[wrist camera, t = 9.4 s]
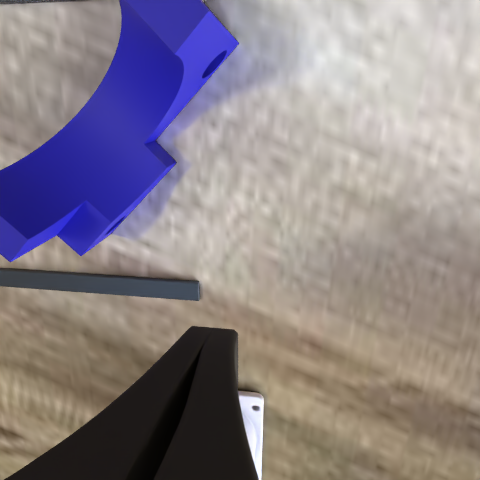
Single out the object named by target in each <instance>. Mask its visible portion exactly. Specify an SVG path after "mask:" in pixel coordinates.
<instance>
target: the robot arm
mask: <svg viewBox="0 0 480 480" xmlns="http://www.w3.org/2000/svg"><path fill="white" fill-rule="evenodd" d="M263 403H264V399H263V396H262V395H261V394H259V393H255V392H246V391H238V333H237V332H236V331H235V330H232V329H221V328H209V327H197V326H192V327H190V328H189V329H188V330H187V331H186V332H185V333H184V334H183V335H182V336H181V337H180V338H179V339H178V341H177V342H176V343H175V344H174V345H173V346H172V347H171V348H170V349H169V350H168V351H167V352H166V353H165V354H164V355H163V356H162V357H161V358H160V359H159V360H158V361H157V362H156V363H155V364H154V365H153V366H152V367H151V368H150V369H149V370H148V371H147V372H146V373H145V374H144V375H143V376H141V377H140V378H139V379H138V380H137V381H136V382H135V383H134V384H133V385H132V386H130V387H129V388H128V389H127V390H126V391H125V392H124V393H123V394H121V395H120V396H119V397H118V398H117V399H116V400H115V401H113V402H112V403H111V404H110V405H109V406H108V407H106V408H105V409H104V410H103V411H101V412H100V413H99V414H98V415H96V416H95V417H94V418H93V419H91V420H90V421H89V422H88V423H86V424H85V425H84V426H82V427H81V428H80V429H78V430H77V431H76V432H74V433H73V434H72V435H70V436H69V437H67V438H66V439H65V440H63V441H62V442H60V443H59V444H58V445H56V446H55V447H53V448H52V449H50V450H49V451H47V452H46V453H44V454H43V455H41V456H40V457H38V458H37V459H35V460H34V461H32V462H31V463H29V464H28V465H26V466H25V467H23V468H22V469H20V470H19V471H17V472H16V473H14V474H13V475H11V476H9V477H8V478H6V479H4V480H261V471H262V437H263ZM254 405H256V406H254Z"/></svg>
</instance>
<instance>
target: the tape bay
mask: <svg viewBox="0 0 480 480" xmlns="http://www.w3.org/2000/svg"><path fill="white" fill-rule="evenodd" d="M48 1H69V0H0V4H5V3H27V2H48ZM0 286H5V287H18V288H32V289H45V290H59V291H72V292H86V293H99V294H113V295H126V296H140V297H153V298H167V299H180V300H194V301H199V300H200V288H199V281H189V280H173V279H158V278H143V277H128V276H113V275H98V274H83V273H68V272H53V271H38V270H22V269H7V268H0Z"/></svg>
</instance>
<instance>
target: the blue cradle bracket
mask: <svg viewBox="0 0 480 480" xmlns="http://www.w3.org/2000/svg"><path fill="white" fill-rule="evenodd" d="M119 1H120V6H121V14H122V25H121V34H120V39H119V43H118V47H117V50H116V53H115V56H114V58H113V61H112V63H111V65H110V67H109V69H108V71H107V73H106V75H105V77H104V79H103V80H102V82H101V84H100V85H99V87H98V88H97V90H96V91H95V93H94V94H93V95H92V97H91V98H90V99H89V101H88V102H87V103H86V104H85V106H84V107H83V108H82V109H81V110H80V111H79V113H78V114H77V115H76V116H75V117H74V118H73V119H72V120H71V121H70V122H69V123H68V124H67V125H66V126H65V127H64V128H63V129H62V130H60V131H59V132H58V133H57V134H56V135H55V136H53V137H52V138H51V139H50V140H48V141H47V142H46V143H45V144H43V145H42V146H40V147H39V148H38V149H36V150H35V151H33V152H32V153H30V154H29V155H27V156H26V157H24V158H22V159H21V160H19V161H17V162H16V163H14V164H12V165H10V166H8V167H6V168H4V169H2V170H0V254H1V255H2V256H3V257H5V258H6V259H7V260H8V261H9V262H11V261H13V260H15V259H17V258H18V257H20V256H22V255H24V254H25V253H27V252H29V251H30V250H32V249H34V248H36V247H37V246H39V245H41V244H43V243H44V242H46V241H48V240H49V239H51V238H53V237H55V236H56V235H57V236H58V237H60V238H61V239H62V240H63V241H64V242H65V243H66V244H68V245H69V246H70V247H71V248H72V249H73V250H74V251H76V252H77V253H78V254H79V255H80V256H82V255H83V254H85V253H86V252H87V251H89V250H90V249H91V248H93V247H94V246H95V245H97V244H98V243H99V242H101V241H102V240H103V239H105V238H106V237H107V236H109V235H110V234H111V233H112V232H113V231H114V230H115V229H116V228H117V227H118V226H119V224H120V223H121V222H122V221H123V220H124V219H125V218H126V217H127V216H128V215H129V214H130V213H131V211H132V210H133V209H134V208H135V207H136V206H137V205H138V204H139V203H140V202H141V201H142V200H143V199H144V197H145V196H146V195H147V194H148V193H149V192H150V191H151V190H152V189H153V188H154V187H155V186H156V184H157V183H158V182H159V181H160V180H161V179H162V178H163V177H164V176H165V175H166V174H167V173H168V172H169V170H170V169H171V168H172V167H173V166H174V165H175V164H176V163H177V162H176V161H175V160H174V159H173V158H172V157H171V156H170V155H169V154H168V153H167V152H166V151H165V150H164V149H163V148H162V147H161V146H160V145H159V144H158V143H157V142H156V141H155V140H156V139H157V138H158V137H159V136H160V134H161V133H162V132H163V131H164V130H165V129H166V128H167V126H168V125H169V124H170V123H171V122H172V121H173V119H174V118H175V117H176V116H177V115H178V114H179V112H180V111H181V110H182V109H183V108H184V107H185V106H186V104H187V103H188V102H189V101H190V100H191V99H192V97H193V96H194V95H195V94H196V93H197V92H198V90H199V89H200V88H201V87H202V86H203V85H204V84H205V82H206V81H207V80H208V79H209V78H210V77H211V75H212V74H213V73H214V72H215V71H216V70H217V68H218V67H219V66H220V65H221V64H222V63H223V62H224V60H225V59H226V58H227V57H228V56H229V55H230V53H231V52H232V51H233V50H234V49H235V48H236V46H237V45H238V44H239V43H238V42H237V40H236V39H235V38H234V37H233V36H232V35H231V34H230V32H229V31H228V30H227V29H226V28H225V27H224V25H223V24H222V23H221V22H220V21H219V20H218V18H217V17H216V16H215V15H214V14H213V13H212V12H211V10H210V9H209V8H208V7H207V6H206V5H205V3H204V2H203V1H202V0H119Z"/></svg>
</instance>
